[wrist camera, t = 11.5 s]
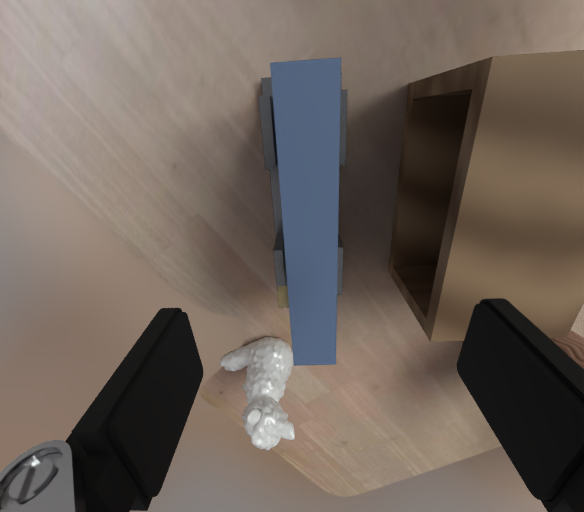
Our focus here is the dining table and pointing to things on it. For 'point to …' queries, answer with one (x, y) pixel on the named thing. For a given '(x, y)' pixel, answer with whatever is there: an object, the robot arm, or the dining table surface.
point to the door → (309, 200)
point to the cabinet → (493, 193)
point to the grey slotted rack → (272, 165)
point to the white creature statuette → (264, 388)
